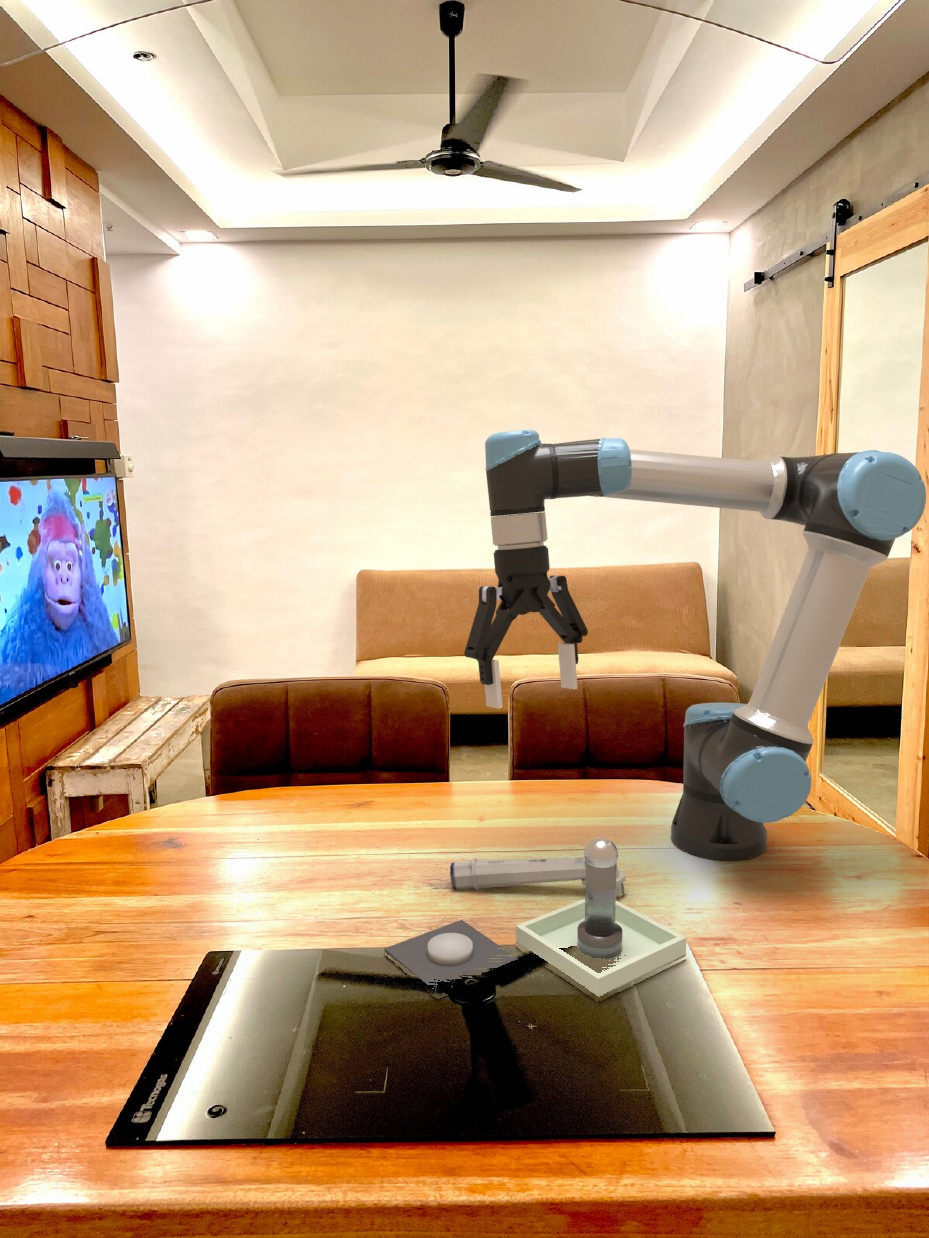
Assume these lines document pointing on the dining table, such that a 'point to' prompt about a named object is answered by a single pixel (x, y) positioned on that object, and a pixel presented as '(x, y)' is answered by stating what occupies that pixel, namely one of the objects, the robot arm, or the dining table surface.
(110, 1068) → the dining table surface
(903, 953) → the dining table surface
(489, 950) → the stud plate
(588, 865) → the domed glass cylinder
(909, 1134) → the dining table surface
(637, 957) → the tray
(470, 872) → the grey long rounded piece
